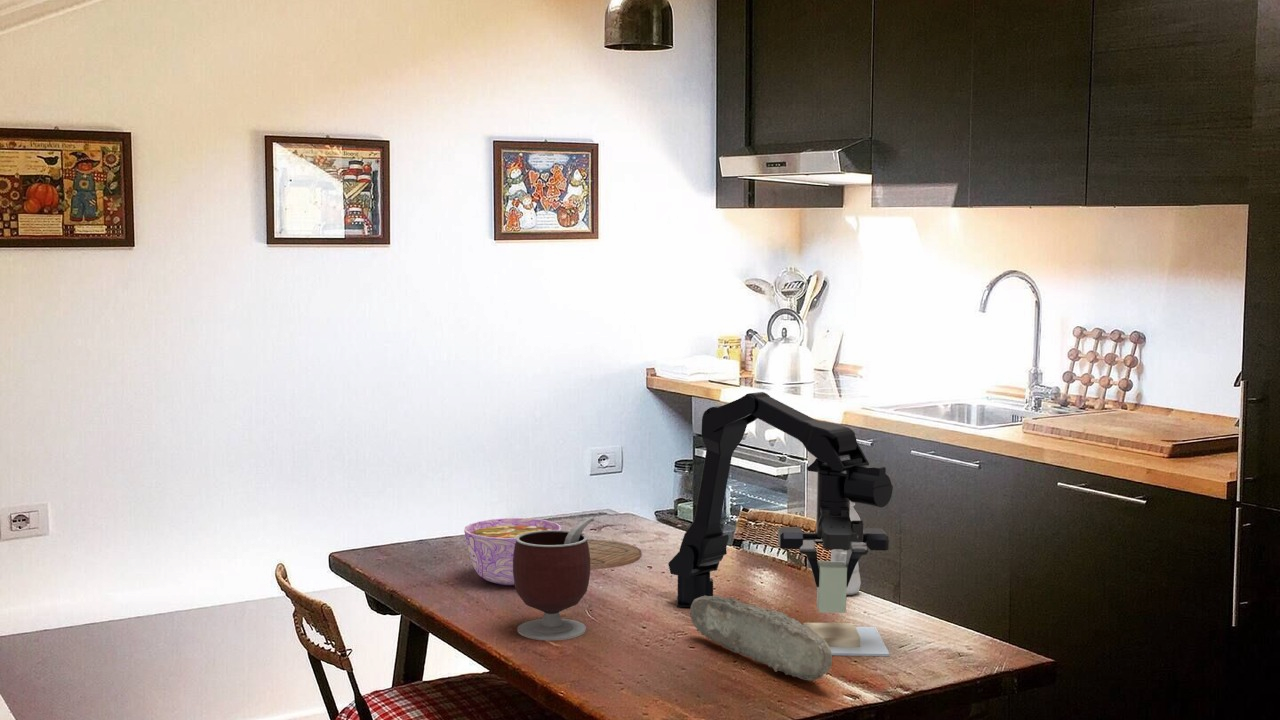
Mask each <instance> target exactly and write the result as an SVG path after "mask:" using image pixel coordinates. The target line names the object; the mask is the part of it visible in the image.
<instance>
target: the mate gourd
mask: <svg viewBox="0 0 1280 720" xmlns="http://www.w3.org/2000/svg"><path fill="white" fill-rule="evenodd" d="M594 521H595V519H594V517H593V516H591V517H588V518H586V519H584V520H583V521H581V522H580V523H577V524H576V525H575V526H573V527H572V528H571V529H570V530H562V529H561V530H544V531H533V532H528V533H524V534H520V535H518V536H517V537H516V543H515V548H514V555H513V577H514V584H515V585H514V587H515V591H516V593H517V596H519V597H520V599H521V600H522V601H523V604H525V605H526V606H527V607H530V608H533V609H535V610H538V611H541V612H543V617H542V618H539V619H532V620H528V621H525V622H523V623H521V624H519V625H518V626H517V633H518V634H519V635H521V636H522V637H525V638H528V639H532V640H537V641H561V640H562V641H565V640H570V639H574V638H577V637H579V636H582V635H583V634H585V632H586V630H587V627H586V625H585V624H584V623H583V622H580V621H578V620H574V619H570V618H562V617H561V614H560V613H561V612H562V611H564V610H567V609H569V608H571V607H574V606H576V605H578V604H579V603H580V601H581V600H582V599H583V597H584V596H585V594H587V593H586V592H587V591H588V588H589V587H588V586H589V583H590V577H591V569H590V553H589V546H588V542H587V540H588V536H587V535H586V534H584V533H583V531H584V530H585V529H586V527H587V526H588V525H589V524H590V523H592V522H594Z"/></svg>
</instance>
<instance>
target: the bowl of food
mask: <svg viewBox="0 0 1280 720" xmlns="http://www.w3.org/2000/svg"><path fill="white" fill-rule="evenodd" d="M544 530H562V526H561V525H560V524H559V523H556V522H554V521H550V520H547V519H545V520H544V519H539V518H538V519H537V518H524V517H507V518H495V519H494V518H493V519H486V520H480V521H477V522H472V523H470V524H468V525H466V526H465V527H464V530H463V531H464V536H465V540H466V543H467V548H468V553H469V558H470V561H471V563H472V566H473V567H472V568H473V569H474V570H475V572H476V573H477V575H478V576H479V577H481V578H482V579H484V580H485V581H487V582H490V583H494V584H498V585H501V586H502V585H503V586H515V584H514V577H513V555H514V548H515V543H516V537H517V536H518V535H520V534H524V533H528V532H533V531H544Z"/></svg>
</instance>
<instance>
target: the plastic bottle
mask: <svg viewBox="0 0 1280 720" xmlns="http://www.w3.org/2000/svg"><path fill="white" fill-rule="evenodd" d="M854 506H856V503H853V502H851V501H850V520H851V521H862V520H861V518H860V516H859V514H858V512H857V511H856V509H855V508H854ZM830 554H831V555H830V561H843V562H844V563H845V565H846V556H847V550H843V549H833V550H830ZM861 582H862V581H861V575H860V568H859V561H858V562H857V564H856V566H855V568H854V570H853V573H852V576H851V579H850V582H849V584H848V587H847V589H846V596H852V595H853V596H854V595H857V594H858V593H859V590H860V588H861Z"/></svg>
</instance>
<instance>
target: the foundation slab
mask: <svg viewBox="0 0 1280 720" xmlns="http://www.w3.org/2000/svg"><path fill="white" fill-rule="evenodd" d="M802 625H804V626H807V627H810V629H811V630H812V631H814V632H815V633H817V634H818V635H819V636H821V637H822V638H823V639H824V640H825V641H826V642H827V644H828V646H829V647H860V636H859V634H858V632H857V630H856V628H855V627H856V625H855V624H854V623H851V622H849V623H848V622H803V623H802Z"/></svg>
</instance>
